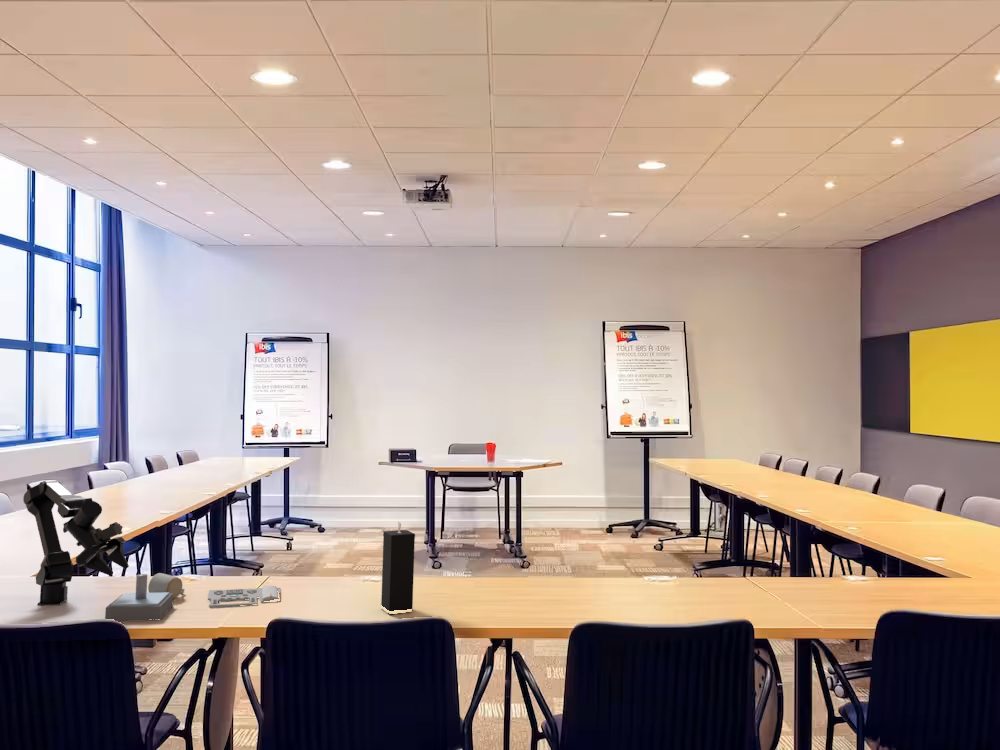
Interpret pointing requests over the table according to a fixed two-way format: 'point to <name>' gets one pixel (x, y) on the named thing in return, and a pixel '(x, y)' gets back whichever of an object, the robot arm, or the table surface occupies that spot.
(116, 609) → the gray square slab
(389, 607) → the black pillar candle
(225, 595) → the office telephone
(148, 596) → the square plate with knob
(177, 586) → the ceramic mug
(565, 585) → the table surface
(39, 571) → the robot arm
